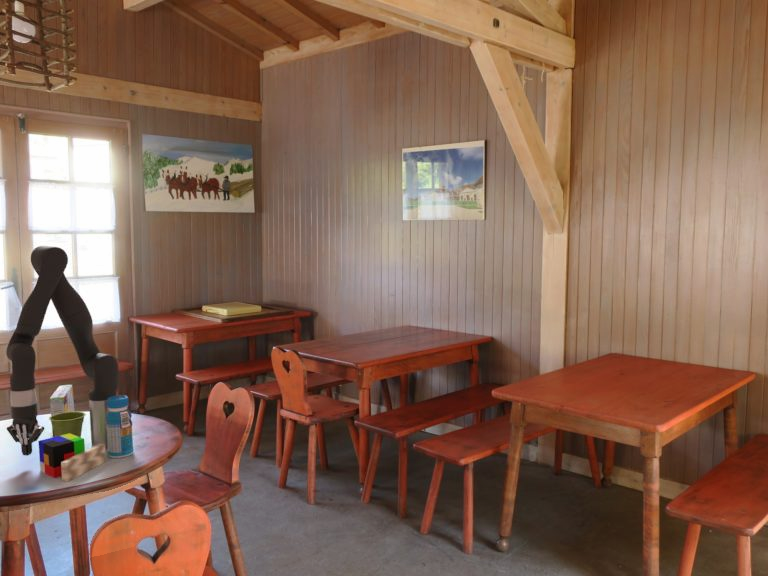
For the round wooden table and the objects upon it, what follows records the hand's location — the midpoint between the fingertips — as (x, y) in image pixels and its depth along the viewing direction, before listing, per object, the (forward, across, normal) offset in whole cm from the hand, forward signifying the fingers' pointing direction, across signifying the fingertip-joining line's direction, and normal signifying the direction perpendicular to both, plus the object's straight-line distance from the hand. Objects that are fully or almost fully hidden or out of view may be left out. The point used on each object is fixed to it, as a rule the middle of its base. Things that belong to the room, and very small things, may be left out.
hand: (27, 454), depth 215 cm
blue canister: (+4, -24, -16) cm, 29 cm away
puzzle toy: (+4, -14, 0) cm, 14 cm away
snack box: (+4, +18, -40) cm, 44 cm away
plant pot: (+4, 0, -20) cm, 21 cm away
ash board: (+4, -21, 0) cm, 22 cm away
